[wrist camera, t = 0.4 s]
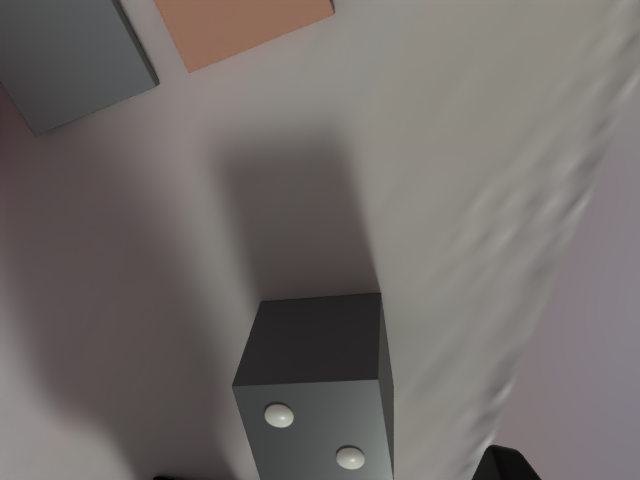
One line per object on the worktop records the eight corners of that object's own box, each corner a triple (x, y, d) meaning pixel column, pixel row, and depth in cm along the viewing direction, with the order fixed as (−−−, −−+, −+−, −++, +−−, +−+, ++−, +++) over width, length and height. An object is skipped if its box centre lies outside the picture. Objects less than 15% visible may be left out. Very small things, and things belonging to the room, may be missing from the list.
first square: (40, 132, 21) (34, 136, 21) (-49, -10, 19) (-57, -9, 19) (159, 83, 20) (155, 86, 20) (78, -76, 18) (71, -76, 17)
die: (393, 387, 26) (393, 485, 21) (283, 391, 26) (261, 487, 22) (381, 293, 23) (377, 381, 19) (260, 301, 24) (231, 388, 20)
